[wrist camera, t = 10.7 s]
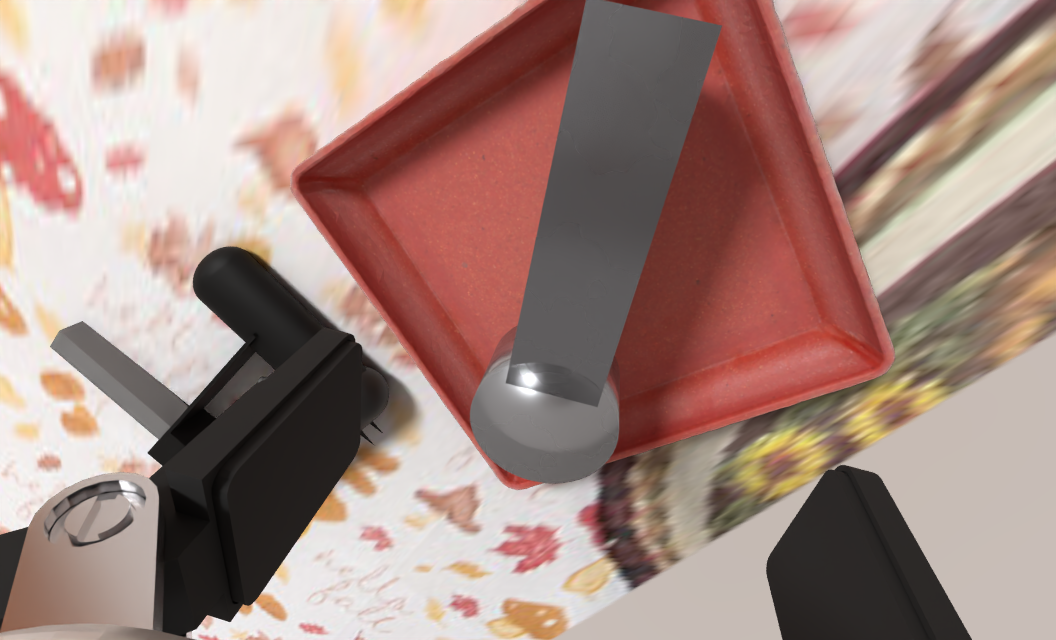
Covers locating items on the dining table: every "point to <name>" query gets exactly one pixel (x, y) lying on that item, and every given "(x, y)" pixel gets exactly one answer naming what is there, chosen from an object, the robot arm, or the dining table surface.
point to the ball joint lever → (592, 242)
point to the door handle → (267, 329)
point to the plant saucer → (676, 249)
